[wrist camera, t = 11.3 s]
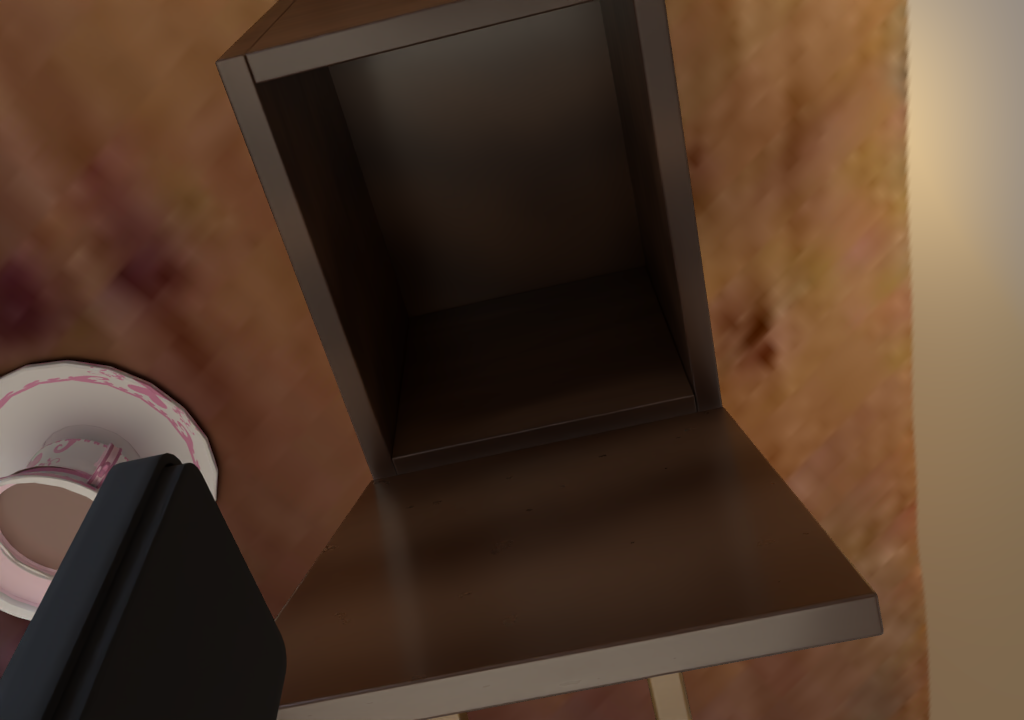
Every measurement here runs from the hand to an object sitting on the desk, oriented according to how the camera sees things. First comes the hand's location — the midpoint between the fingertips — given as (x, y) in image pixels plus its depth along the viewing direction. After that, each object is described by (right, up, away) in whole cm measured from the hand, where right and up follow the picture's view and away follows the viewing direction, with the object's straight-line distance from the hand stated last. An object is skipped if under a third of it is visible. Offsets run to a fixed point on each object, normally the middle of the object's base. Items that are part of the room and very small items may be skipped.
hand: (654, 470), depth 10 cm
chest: (-2, +10, +29) cm, 31 cm away
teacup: (-22, -4, +36) cm, 42 cm away
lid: (-1, -3, +15) cm, 15 cm away
